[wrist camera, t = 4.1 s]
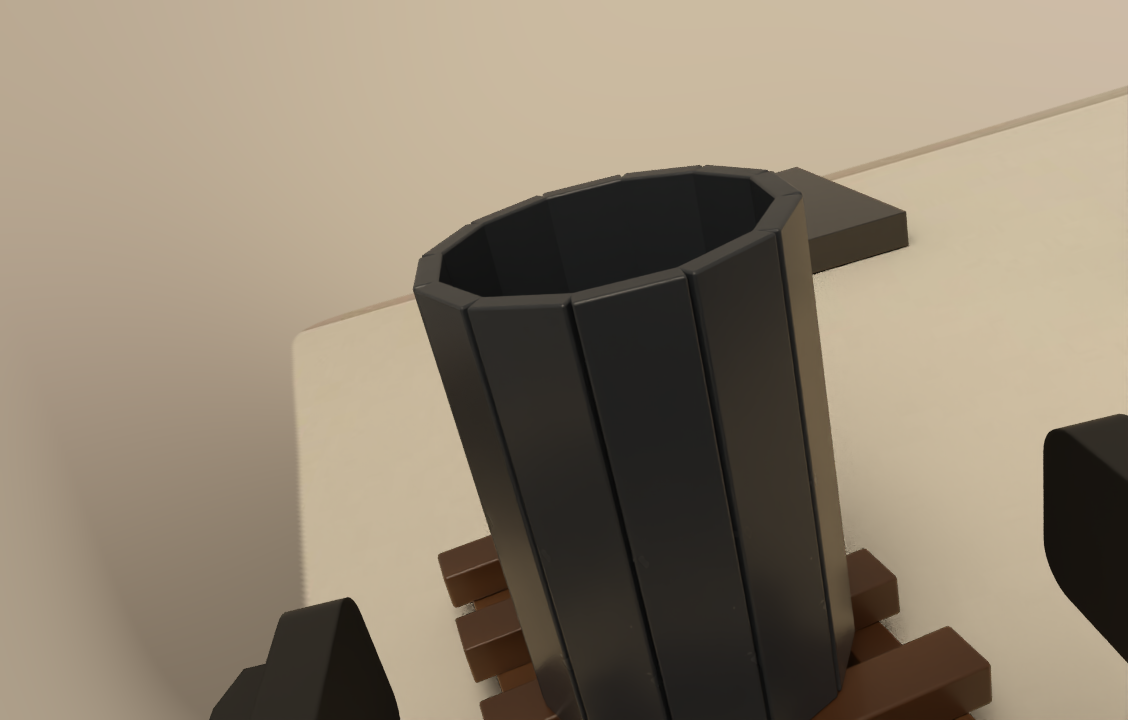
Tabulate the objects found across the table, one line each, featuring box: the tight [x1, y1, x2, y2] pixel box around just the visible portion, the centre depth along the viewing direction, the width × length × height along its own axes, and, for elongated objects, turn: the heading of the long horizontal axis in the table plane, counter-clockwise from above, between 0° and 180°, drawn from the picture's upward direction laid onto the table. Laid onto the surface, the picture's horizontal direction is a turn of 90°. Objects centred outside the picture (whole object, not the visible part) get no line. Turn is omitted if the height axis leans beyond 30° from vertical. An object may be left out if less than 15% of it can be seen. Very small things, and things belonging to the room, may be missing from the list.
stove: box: [776, 167, 908, 274], centre depth 44 cm, size 16×11×2 cm
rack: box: [438, 535, 992, 720], centre depth 19 cm, size 14×9×2 cm, turn 17°
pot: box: [413, 165, 855, 720], centre depth 19 cm, size 12×6×9 cm, turn 5°
